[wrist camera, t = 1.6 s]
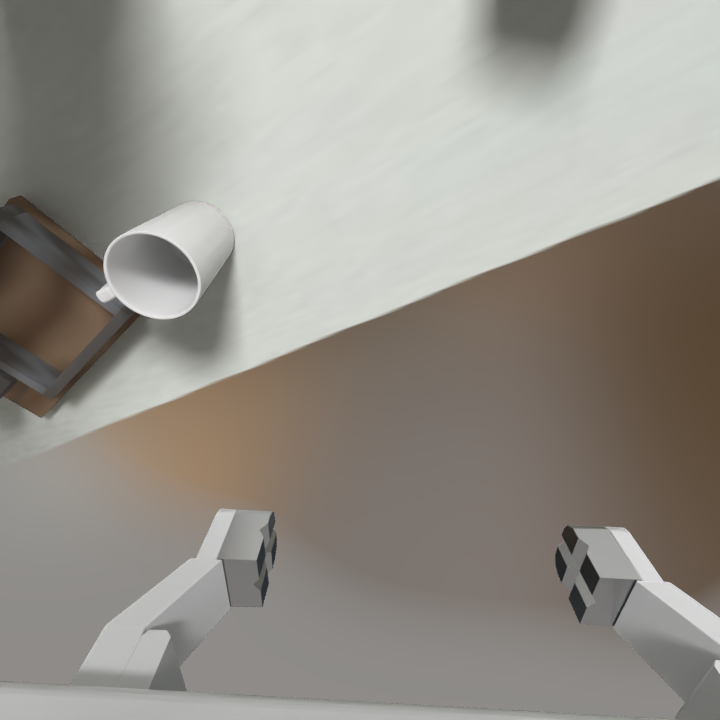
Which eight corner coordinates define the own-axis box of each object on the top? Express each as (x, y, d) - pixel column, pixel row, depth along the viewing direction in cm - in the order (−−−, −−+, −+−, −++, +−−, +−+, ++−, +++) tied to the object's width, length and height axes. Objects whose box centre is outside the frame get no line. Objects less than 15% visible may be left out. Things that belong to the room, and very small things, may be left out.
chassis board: (-76, 336, 44) (-116, 357, 40) (21, 195, 37) (-17, 205, 33) (49, 410, 50) (24, 434, 46) (153, 301, 43) (134, 319, 39)
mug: (214, 186, 37) (164, 215, 27) (250, 253, 41) (218, 301, 30) (123, 227, 39) (44, 269, 29) (164, 288, 42) (107, 345, 32)
